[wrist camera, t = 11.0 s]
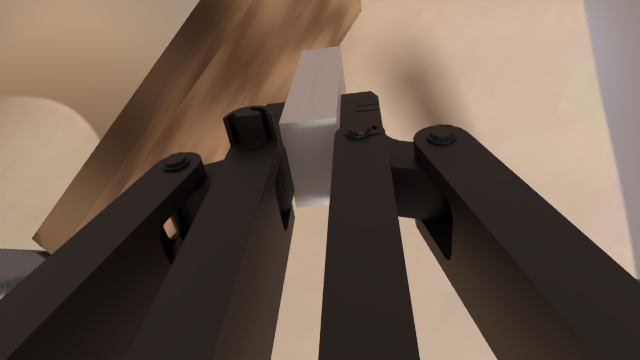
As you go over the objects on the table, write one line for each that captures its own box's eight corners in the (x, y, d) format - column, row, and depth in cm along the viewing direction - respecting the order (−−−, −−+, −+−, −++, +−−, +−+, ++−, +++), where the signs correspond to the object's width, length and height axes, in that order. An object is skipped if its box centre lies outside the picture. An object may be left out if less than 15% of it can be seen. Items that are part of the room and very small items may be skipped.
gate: (196, 261, 29) (56, 258, 17) (177, 248, 30) (26, 234, 17) (362, 9, 31) (350, -163, 19) (342, -1, 32) (316, -176, 19)
